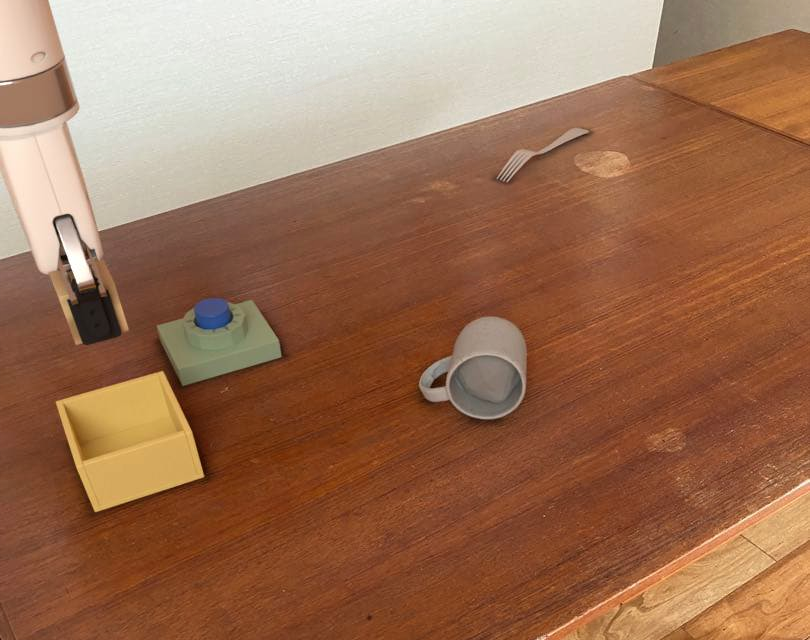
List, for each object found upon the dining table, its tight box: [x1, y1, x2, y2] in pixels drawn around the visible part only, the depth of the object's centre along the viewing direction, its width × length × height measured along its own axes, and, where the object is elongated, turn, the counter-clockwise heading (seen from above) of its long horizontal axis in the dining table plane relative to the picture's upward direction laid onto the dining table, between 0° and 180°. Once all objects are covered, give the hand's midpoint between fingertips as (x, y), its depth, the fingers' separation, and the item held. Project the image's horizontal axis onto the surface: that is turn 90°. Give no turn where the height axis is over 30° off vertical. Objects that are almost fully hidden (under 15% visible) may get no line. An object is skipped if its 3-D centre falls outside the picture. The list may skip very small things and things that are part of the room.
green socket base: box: [156, 299, 282, 387], centre depth 93 cm, size 11×9×4 cm
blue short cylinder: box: [193, 297, 231, 330], centre depth 91 cm, size 4×4×2 cm
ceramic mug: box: [418, 315, 528, 420], centre depth 85 cm, size 11×8×8 cm
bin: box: [55, 370, 205, 513], centre depth 80 cm, size 10×10×6 cm
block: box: [49, 258, 130, 346], centre depth 71 cm, size 4×4×4 cm
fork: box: [496, 127, 590, 183], centre depth 125 cm, size 3×21×3 cm, turn 139°
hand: (95, 321), depth 72 cm, fingers closed on block, 4 cm apart
